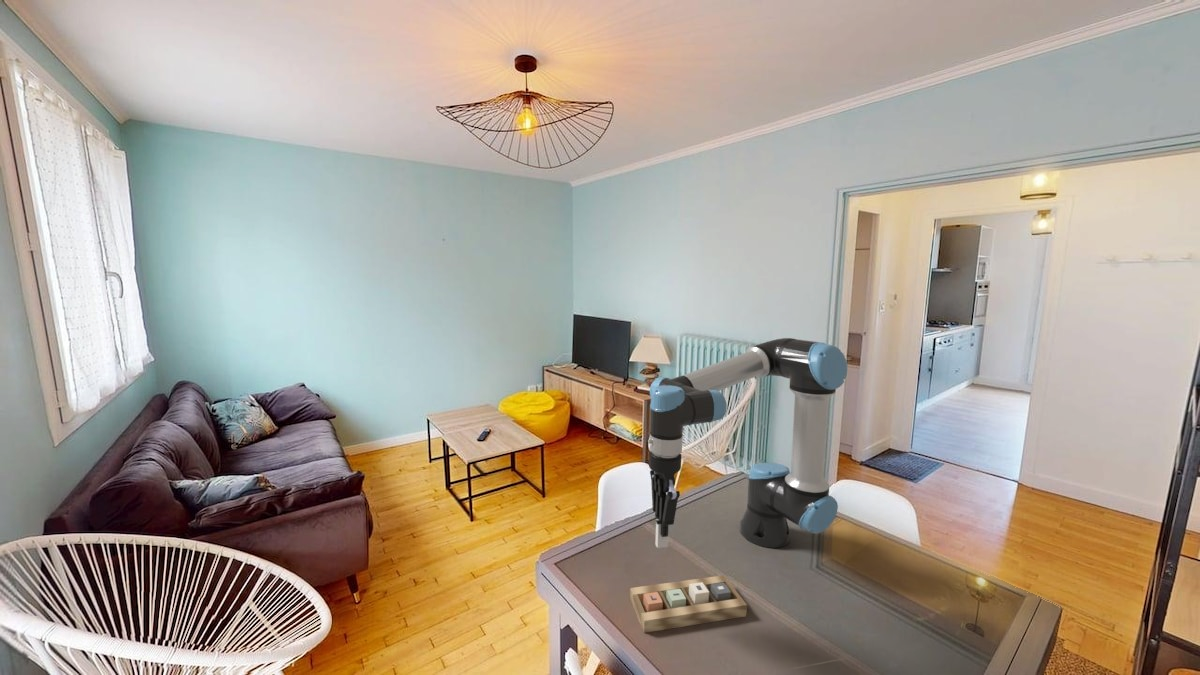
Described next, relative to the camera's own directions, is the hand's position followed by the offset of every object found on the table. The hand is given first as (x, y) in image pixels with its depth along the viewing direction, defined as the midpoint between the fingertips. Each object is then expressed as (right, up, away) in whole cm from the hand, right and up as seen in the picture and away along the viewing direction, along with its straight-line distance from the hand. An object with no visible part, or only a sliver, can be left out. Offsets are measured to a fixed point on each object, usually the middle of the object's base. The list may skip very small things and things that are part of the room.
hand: (661, 545), depth 106 cm
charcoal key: (+15, -16, +5) cm, 23 cm away
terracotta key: (-2, -16, +1) cm, 16 cm away
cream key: (+10, -15, +3) cm, 18 cm away
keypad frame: (+7, -17, +3) cm, 18 cm away
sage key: (+4, -16, +2) cm, 16 cm away
